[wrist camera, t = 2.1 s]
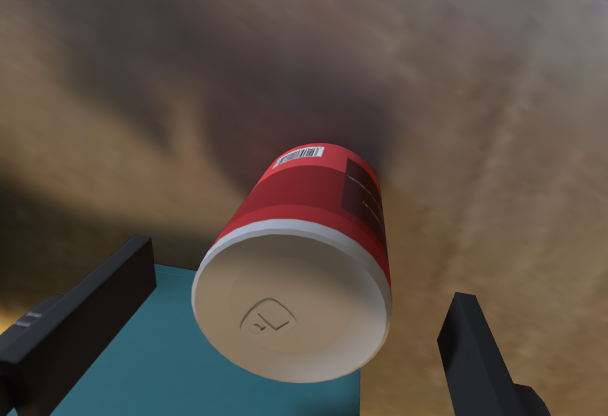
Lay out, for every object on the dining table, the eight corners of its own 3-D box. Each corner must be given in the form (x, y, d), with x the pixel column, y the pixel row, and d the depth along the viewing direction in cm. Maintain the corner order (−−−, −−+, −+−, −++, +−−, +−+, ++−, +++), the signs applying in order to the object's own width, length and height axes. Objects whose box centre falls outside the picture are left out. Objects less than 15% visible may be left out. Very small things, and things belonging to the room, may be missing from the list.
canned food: (243, 209, 24) (161, 326, 14) (302, 112, 20) (246, 182, 11) (333, 265, 25) (313, 411, 15) (406, 182, 21) (441, 305, 12)
